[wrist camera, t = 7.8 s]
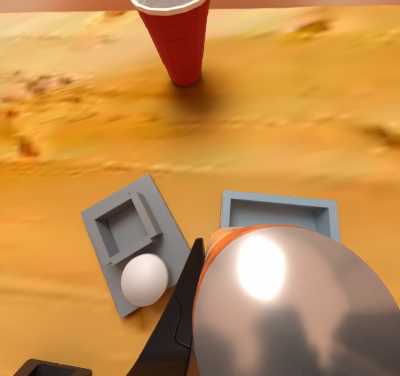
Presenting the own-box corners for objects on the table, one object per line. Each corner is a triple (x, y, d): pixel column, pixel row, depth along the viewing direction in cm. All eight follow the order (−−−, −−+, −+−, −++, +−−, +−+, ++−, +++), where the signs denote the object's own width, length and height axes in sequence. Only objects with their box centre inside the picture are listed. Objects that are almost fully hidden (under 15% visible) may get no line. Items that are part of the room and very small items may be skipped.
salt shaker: (222, 278, 15) (281, 558, 2) (199, 240, 16) (155, 292, 3) (257, 254, 15) (476, 386, 3) (232, 218, 16) (306, 190, 4)
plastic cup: (214, 51, 31) (215, -55, 19) (213, 96, 28) (215, 6, 17) (160, 54, 32) (131, -46, 20) (156, 98, 29) (119, 14, 17)
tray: (326, 352, 19) (352, 380, 15) (211, 331, 20) (211, 353, 17) (317, 204, 23) (336, 200, 19) (221, 195, 24) (223, 190, 21)
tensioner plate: (200, 267, 22) (198, 275, 18) (124, 314, 21) (107, 332, 18) (150, 175, 26) (141, 167, 22) (85, 213, 25) (64, 211, 21)
